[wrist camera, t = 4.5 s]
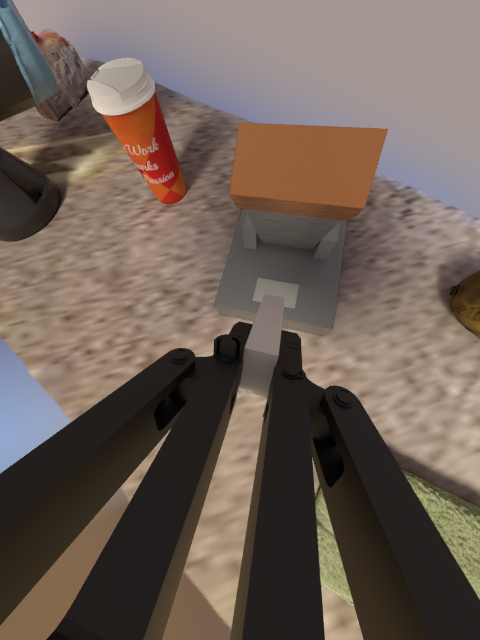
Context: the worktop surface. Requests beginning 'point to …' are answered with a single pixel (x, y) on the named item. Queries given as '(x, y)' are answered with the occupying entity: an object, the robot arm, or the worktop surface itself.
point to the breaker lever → (302, 178)
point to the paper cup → (138, 124)
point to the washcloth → (447, 515)
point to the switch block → (283, 278)
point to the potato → (467, 303)
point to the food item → (62, 74)
